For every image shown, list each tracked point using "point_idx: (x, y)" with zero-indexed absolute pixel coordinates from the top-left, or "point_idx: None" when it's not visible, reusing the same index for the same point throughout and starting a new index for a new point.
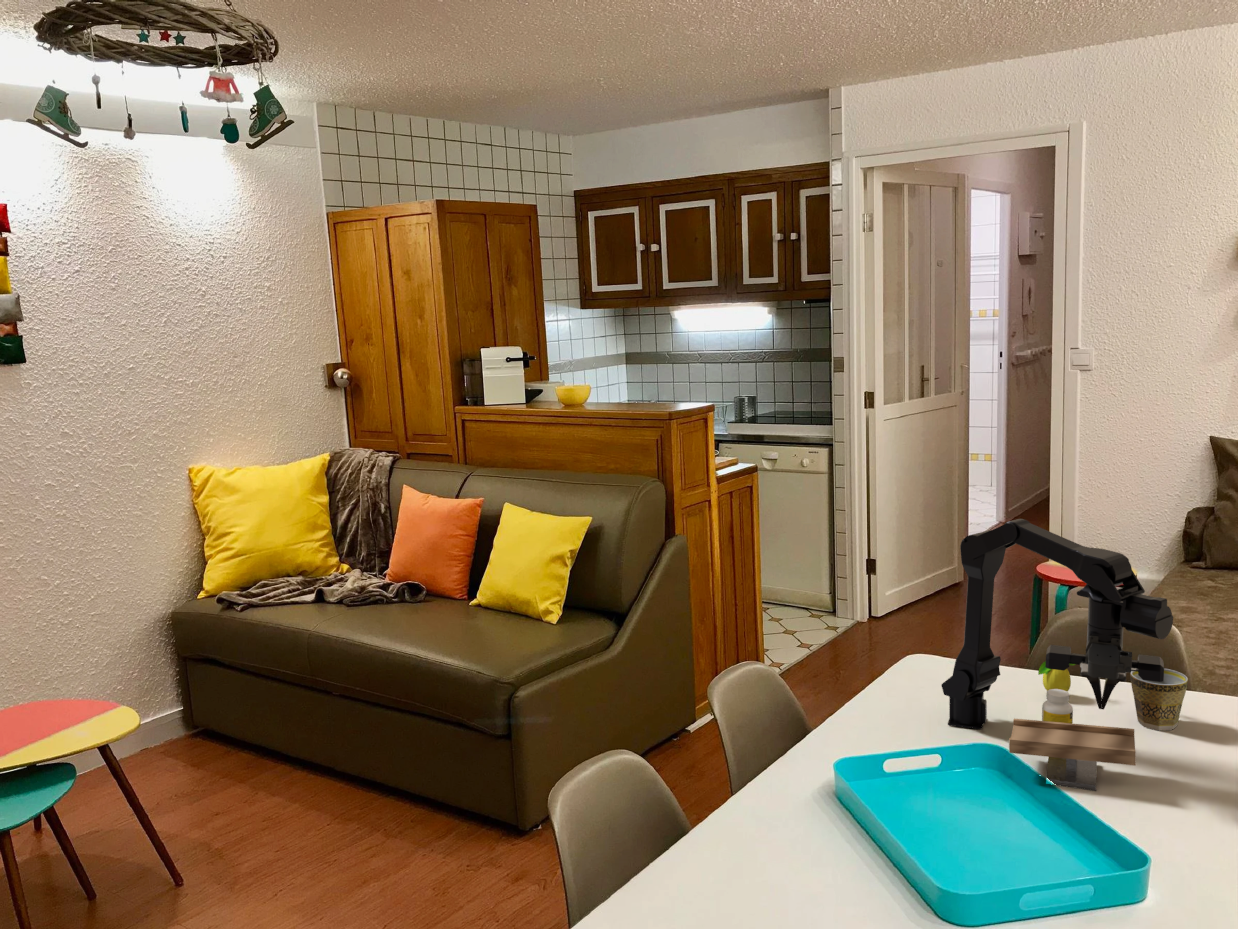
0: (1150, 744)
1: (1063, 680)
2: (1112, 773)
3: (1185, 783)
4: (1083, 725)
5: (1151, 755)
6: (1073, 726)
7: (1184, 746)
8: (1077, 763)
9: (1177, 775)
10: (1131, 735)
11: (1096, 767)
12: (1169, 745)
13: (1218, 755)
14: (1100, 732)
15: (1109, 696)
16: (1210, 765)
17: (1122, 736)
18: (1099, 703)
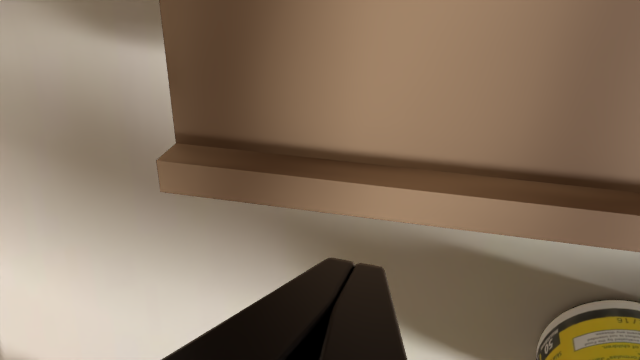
0: None
1: None
2: None
3: (60, 6)
4: (535, 220)
5: (208, 261)
6: (626, 208)
7: (113, 345)
8: None
9: (100, 86)
10: (192, 145)
11: None
12: (157, 349)
13: (12, 289)
14: (402, 170)
15: (186, 344)
16: (16, 207)
17: (249, 121)
18: (364, 299)
